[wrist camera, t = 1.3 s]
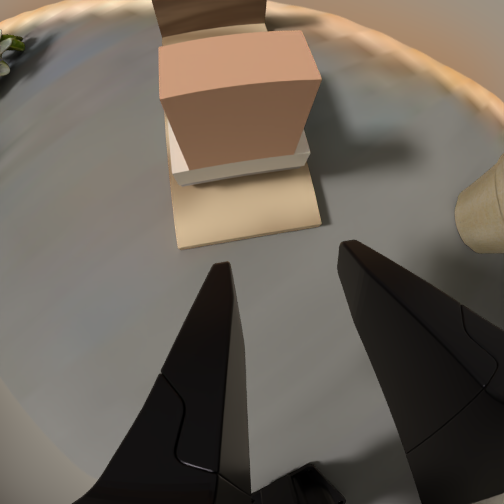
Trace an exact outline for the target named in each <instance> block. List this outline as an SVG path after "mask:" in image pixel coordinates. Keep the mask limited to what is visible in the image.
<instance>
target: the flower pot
mask: <svg viewBox="0 0 504 504" xmlns="http://www.w3.org/2000/svg"><path fill="white" fill-rule="evenodd" d="M455 221H456V226H457V229H458V232H459V234H460V236H461V238H462V240H463V242H464V243H465V244H466V245H467V246H469V247H470V248H471V249H472V250H474V251H475V252H476V253H480V254H482V253H504V154H502V155H501V157H500V158H499V160H498V162H497V163H496V164H495V165H494V166H493V167H492V168H491V169H489V170H488V171H487V172H486V173H485V174H483V175H482V176H481V177H480V178H479V179H477V180H476V181H475V182H474V183H472V184H471V185H470V186H469V187H467V188H466V189H465V190H463V191H462V192H461V193H460V194H459V196H458V200H457V204H456V208H455Z"/></svg>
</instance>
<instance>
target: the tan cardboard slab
mask: <svg viewBox="0 0 504 504" xmlns="http://www.w3.org/2000/svg"><path fill="white" fill-rule="evenodd" d="M266 2H267V0H152V3H153V7H154V10H155V14H156V17H157V21H158V24H159V28H160V31H161V35H162V46H166V45H171V44H176V43H181V42H186V41H191V40H197V39H203V38H209V37H216V36H224V35H232V34H242V33H253V32H267V29H266V26H265V13H266ZM165 128H166V142H167V154H168V166H169V177H170V186H171V196H172V205H173V213H174V222H175V230H176V237H177V245H178V248H179V249H180V250H184V249H190V248H196V247H201V246H207V245H213V244H219V243H224V242H230V241H236V240H242V239H248V238H254V237H260V236H266V235H272V234H278V233H284V232H290V231H296V230H302V229H308V228H314V227H319V226H320V225H321V224H322V223H321V218H320V214H319V209H318V205H317V201H316V196H315V192H314V188H313V184H312V180H311V176H310V172H309V168H308V164H307V161H306V163H305V165H304V166H301V167H300V168H298V169H290V170H282V171H275V172H268V173H261V174H254V175H247V176H241V177H235V178H228V179H222V180H217V181H211V182H205V183H200V184H194V185H189V186H184V187H182V186H181V185H178V183H177V181H176V180H175V178H174V176H173V174H172V167H171V156H170V144H169V132H168V118H167V116H166V113H165Z"/></svg>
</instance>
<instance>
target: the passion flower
mask: <svg viewBox="0 0 504 504" xmlns="http://www.w3.org/2000/svg"><path fill="white" fill-rule="evenodd" d="M1 34H2V30H1V29H0V76H2V77H3V76H5V75H7V74H9V73H10V68H9V66H8V64H6V63H5V62H4V61H3V59H2V54H3V53H4V51H6V50H16V51H23V50H25V45H24V43H23V42H21V41H22V40H23V38H22V37H20V36H14V35H8V34H6V35H1Z"/></svg>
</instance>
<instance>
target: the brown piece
mask: <svg viewBox="0 0 504 504" xmlns="http://www.w3.org/2000/svg"><path fill="white" fill-rule="evenodd" d="M321 81H322V78H321V76H320V73H319V71H318V68H317V66H316V63H315V61H314V58H313V56H312V54H311V51H310V49H309V47H308V44H307V42H306V40H305V37H304V35H303V33H302V31H268V32H253V33H242V34H232V35H224V36H216V37H209V38H203V39H197V40H191V41H186V42H181V43H176V44H171V45H166V46H162V47H159V92H160V101H161V104H162V106H163V109H164V111H165V113H166V116H167V118H168V132H169V144H170V156H171V167H172V174H173V176H174V178H175V180H176V181H177V183H178V185H181V186H182V187H184V186H189V185H194V184H200V183H205V182H211V181H217V180H222V179H228V178H235V177H241V176H247V175H254V174H261V173H268V172H275V171H282V170H290V169H298V168H300V167H301V166H304V165H305V163H306V161H307V159H308V157H309V155H310V149H309V146H308V142H307V138H306V135H305V131H304V126H305V124H306V121H307V118H308V115H309V113H310V110H311V107H312V105H313V102H314V99H315V97H316V94H317V91H318V89H319V86H320V83H321Z"/></svg>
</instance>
